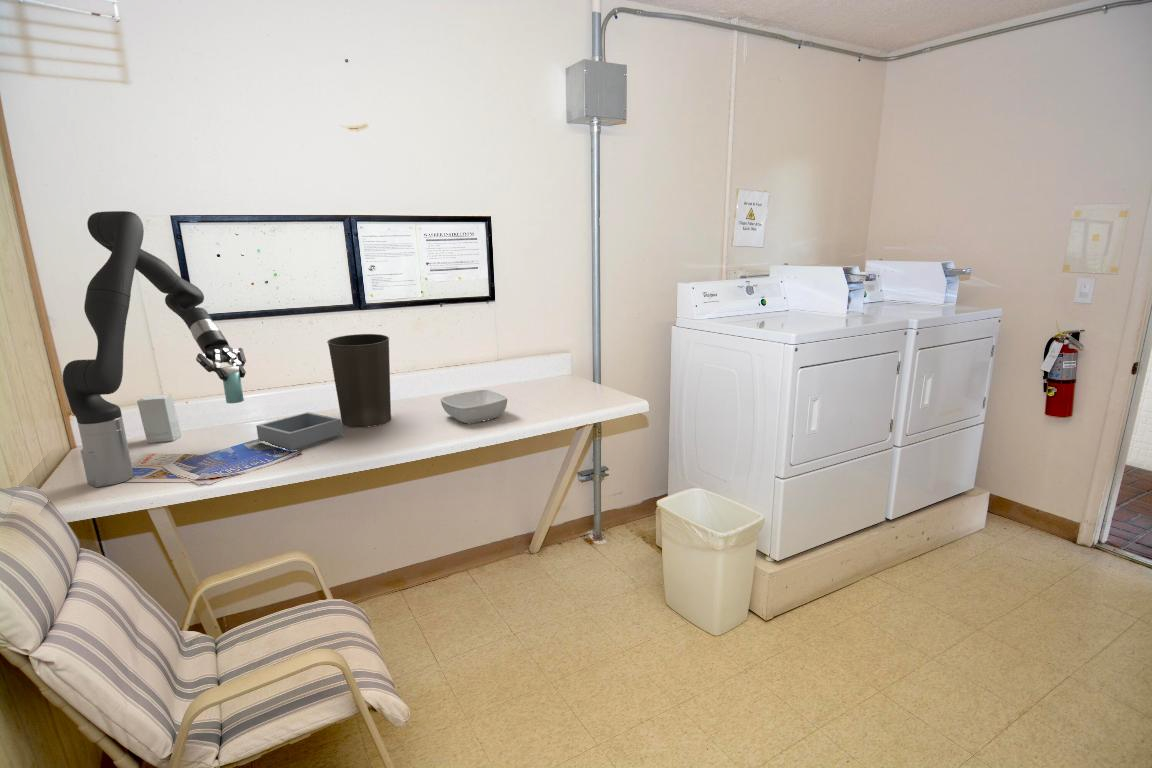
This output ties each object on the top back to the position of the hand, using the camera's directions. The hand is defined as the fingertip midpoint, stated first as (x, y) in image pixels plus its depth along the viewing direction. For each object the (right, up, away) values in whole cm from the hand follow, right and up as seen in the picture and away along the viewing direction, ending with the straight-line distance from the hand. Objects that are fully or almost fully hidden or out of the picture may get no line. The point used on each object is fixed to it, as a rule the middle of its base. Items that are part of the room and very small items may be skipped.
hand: (234, 377), depth 180 cm
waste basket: (+31, -16, +29) cm, 45 cm away
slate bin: (+17, -20, +9) cm, 28 cm away
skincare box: (-30, -21, +12) cm, 39 cm away
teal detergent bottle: (-2, -8, +3) cm, 8 cm away
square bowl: (+69, -15, +31) cm, 78 cm away
